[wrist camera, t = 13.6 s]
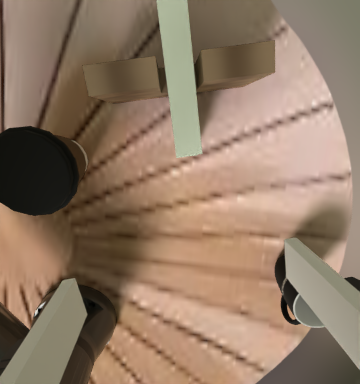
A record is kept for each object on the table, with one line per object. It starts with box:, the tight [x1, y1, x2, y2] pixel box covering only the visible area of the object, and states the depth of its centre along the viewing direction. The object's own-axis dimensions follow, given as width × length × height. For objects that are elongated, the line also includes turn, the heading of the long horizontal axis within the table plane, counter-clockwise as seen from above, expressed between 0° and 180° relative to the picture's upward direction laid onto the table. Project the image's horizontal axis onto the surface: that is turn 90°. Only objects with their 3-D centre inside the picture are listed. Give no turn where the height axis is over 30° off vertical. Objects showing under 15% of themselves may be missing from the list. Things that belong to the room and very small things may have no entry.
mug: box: [275, 255, 325, 328], centre depth 42 cm, size 12×9×10 cm
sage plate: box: [156, 0, 202, 158], centre depth 31 cm, size 3×20×12 cm, turn 7°
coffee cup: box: [0, 126, 88, 216], centre depth 34 cm, size 11×11×12 cm
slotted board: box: [82, 40, 275, 103], centre depth 31 cm, size 20×3×12 cm, turn 97°
